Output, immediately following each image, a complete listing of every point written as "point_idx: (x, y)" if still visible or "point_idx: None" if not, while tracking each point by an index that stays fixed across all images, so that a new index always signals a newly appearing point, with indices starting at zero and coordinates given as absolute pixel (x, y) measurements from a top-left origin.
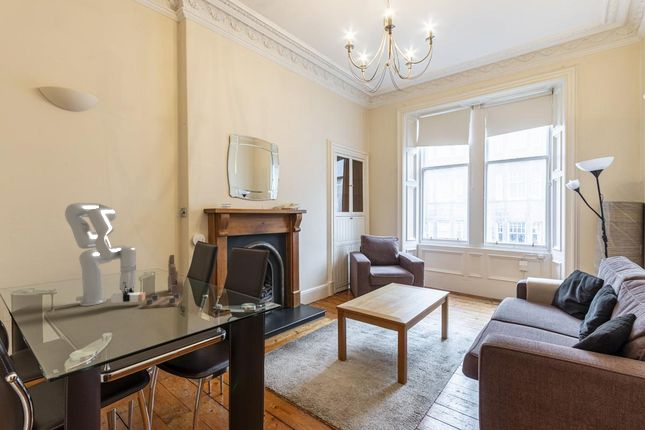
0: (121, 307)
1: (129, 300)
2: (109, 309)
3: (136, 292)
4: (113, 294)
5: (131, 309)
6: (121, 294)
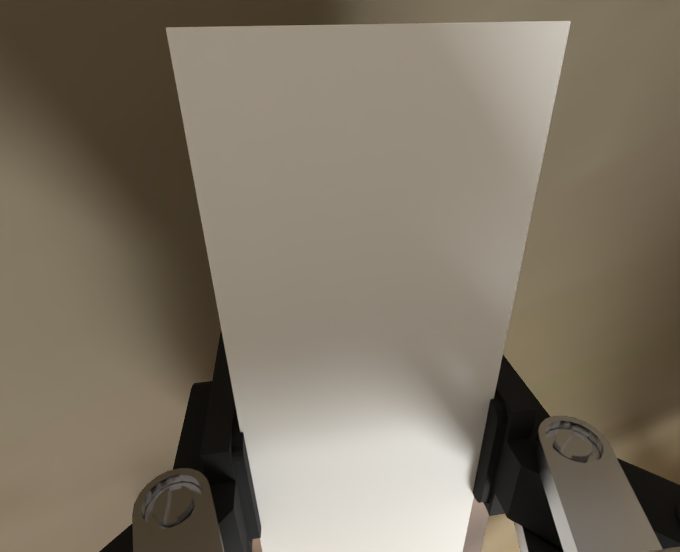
0: None
1: None
2: (129, 56)
3: (463, 538)
4: (373, 48)
5: (133, 424)
6: (339, 337)
